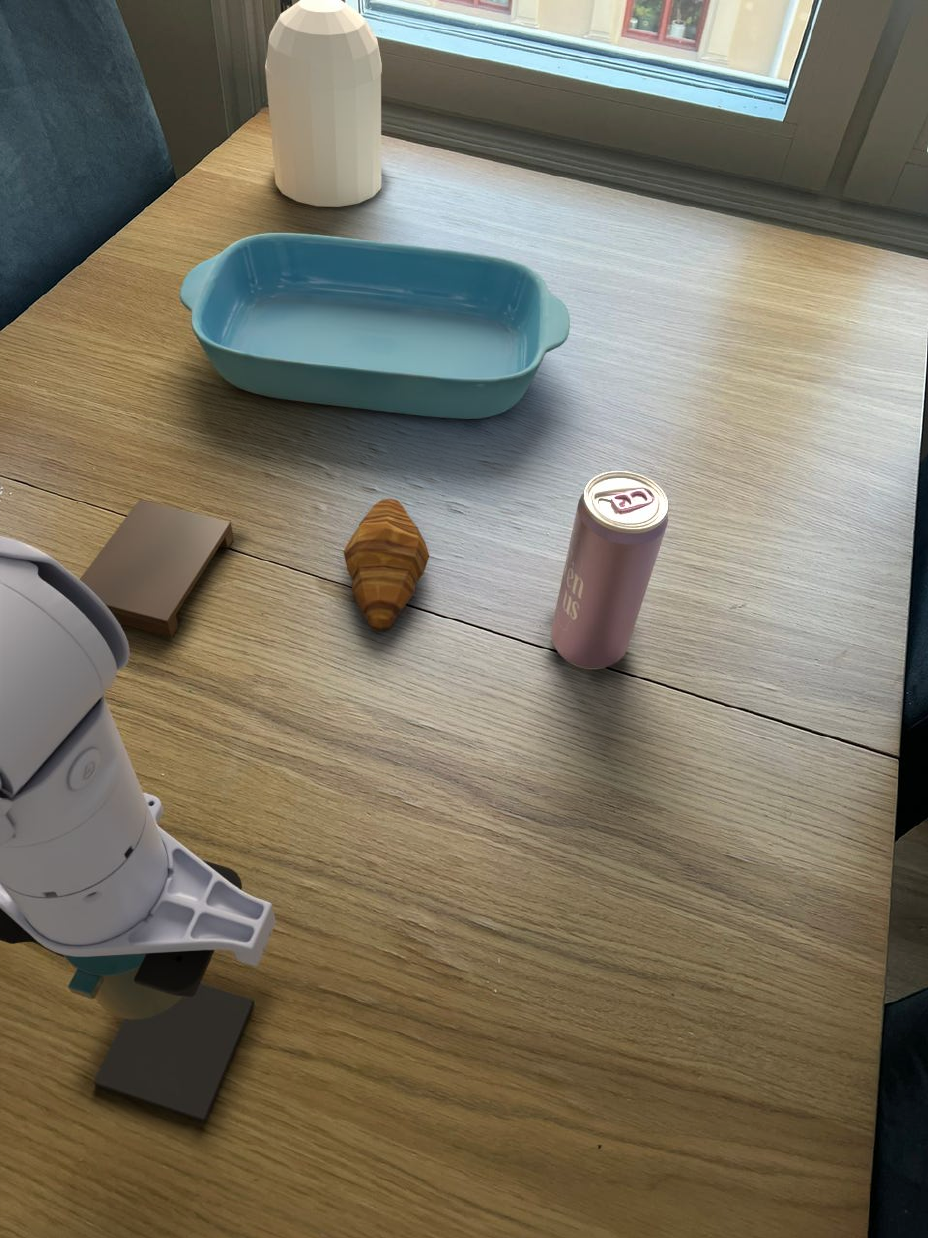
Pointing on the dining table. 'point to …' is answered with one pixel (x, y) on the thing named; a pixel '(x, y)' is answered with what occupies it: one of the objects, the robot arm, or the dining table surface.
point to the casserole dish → (374, 324)
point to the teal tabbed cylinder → (118, 986)
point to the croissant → (385, 562)
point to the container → (325, 104)
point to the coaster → (178, 1052)
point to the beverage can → (608, 567)
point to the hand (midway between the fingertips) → (141, 957)
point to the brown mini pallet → (155, 564)
